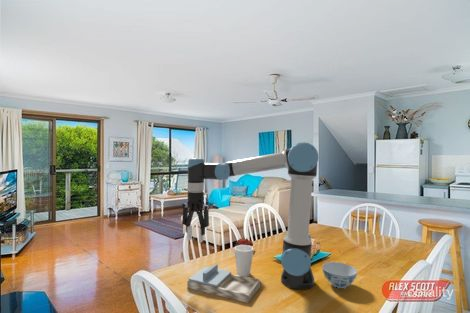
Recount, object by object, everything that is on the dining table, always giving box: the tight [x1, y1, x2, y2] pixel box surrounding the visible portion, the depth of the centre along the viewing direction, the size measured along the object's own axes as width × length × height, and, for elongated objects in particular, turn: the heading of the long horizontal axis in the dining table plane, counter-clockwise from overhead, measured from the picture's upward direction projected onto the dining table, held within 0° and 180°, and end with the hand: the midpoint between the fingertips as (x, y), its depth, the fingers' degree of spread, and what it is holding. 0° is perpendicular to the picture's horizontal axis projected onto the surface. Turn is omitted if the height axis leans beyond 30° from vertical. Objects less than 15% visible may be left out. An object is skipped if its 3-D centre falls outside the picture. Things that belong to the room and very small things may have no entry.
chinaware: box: [321, 261, 358, 289], centre depth 125 cm, size 15×15×8 cm
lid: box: [188, 263, 232, 287], centre depth 125 cm, size 14×15×4 cm
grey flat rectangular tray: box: [186, 273, 261, 304], centre depth 122 cm, size 29×15×3 cm, turn 66°
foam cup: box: [233, 245, 254, 277], centre depth 135 cm, size 10×9×13 cm
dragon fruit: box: [235, 237, 254, 247], centre depth 168 cm, size 8×8×12 cm
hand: (195, 240), depth 127 cm, fingers open, 6 cm apart
